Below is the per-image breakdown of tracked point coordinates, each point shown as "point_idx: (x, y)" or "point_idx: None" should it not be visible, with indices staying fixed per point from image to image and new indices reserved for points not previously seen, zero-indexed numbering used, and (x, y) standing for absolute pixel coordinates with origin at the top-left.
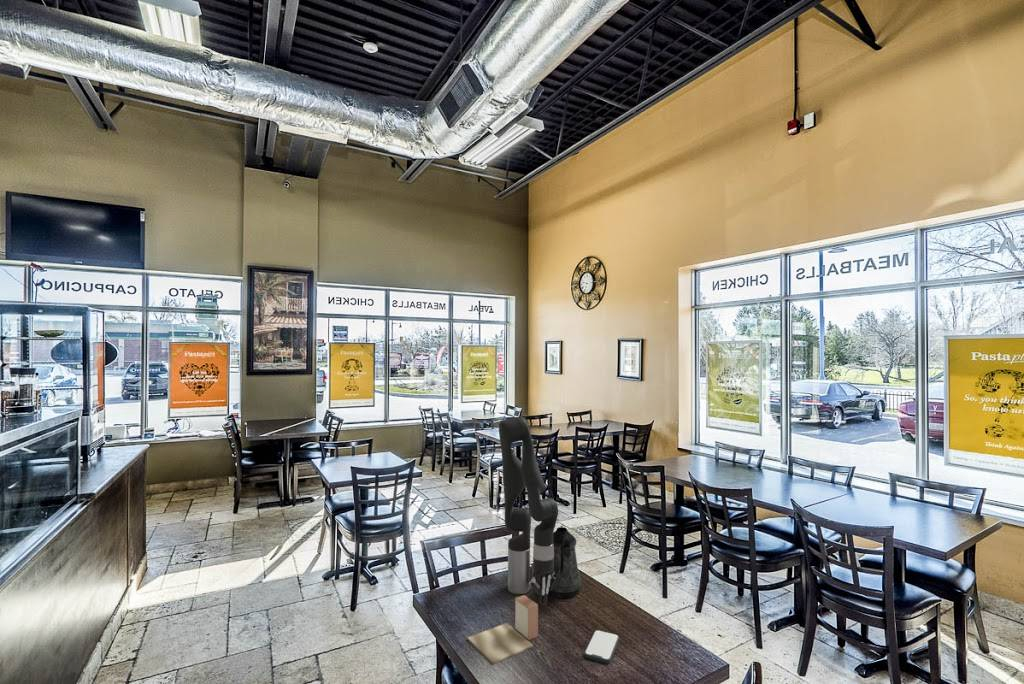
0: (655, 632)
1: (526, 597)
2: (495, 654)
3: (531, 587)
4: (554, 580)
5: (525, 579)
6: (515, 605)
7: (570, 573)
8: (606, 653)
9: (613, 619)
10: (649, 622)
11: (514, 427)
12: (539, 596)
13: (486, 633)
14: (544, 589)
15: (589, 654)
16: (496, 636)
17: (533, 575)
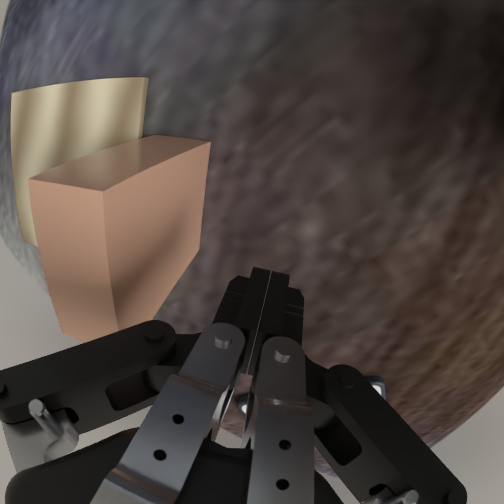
0: (440, 430)
1: (96, 240)
2: (32, 222)
3: (62, 361)
4: (361, 494)
5: None
6: (70, 162)
7: None
8: None
9: (471, 368)
10: (476, 410)
11: None
12: (216, 317)
13: (49, 102)
14: (219, 420)
15: (244, 412)
16: (63, 142)
17: (11, 495)
